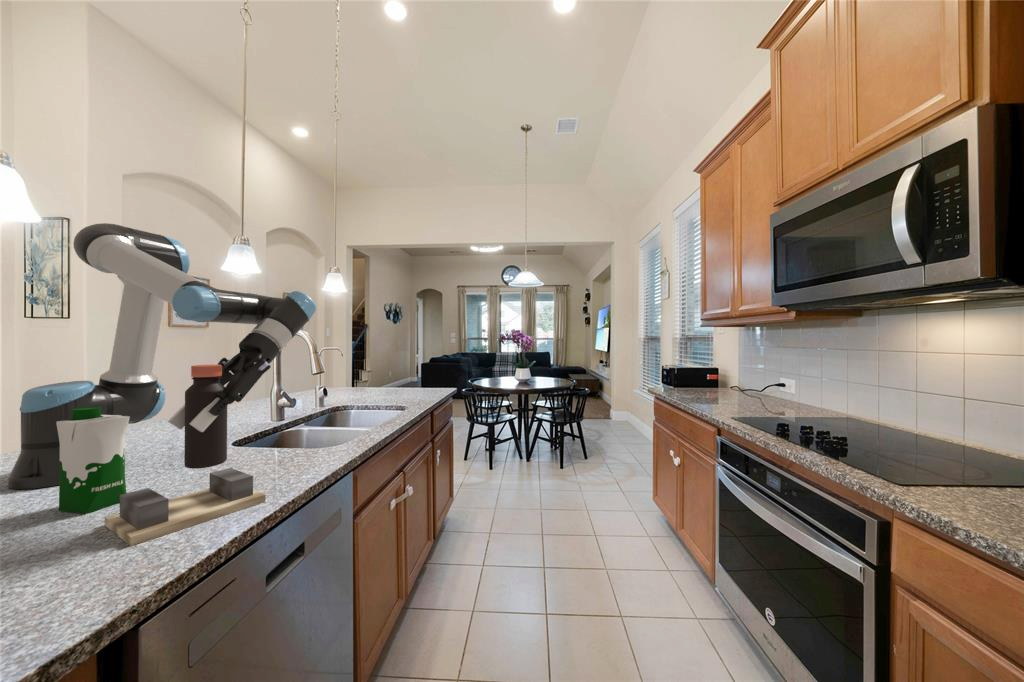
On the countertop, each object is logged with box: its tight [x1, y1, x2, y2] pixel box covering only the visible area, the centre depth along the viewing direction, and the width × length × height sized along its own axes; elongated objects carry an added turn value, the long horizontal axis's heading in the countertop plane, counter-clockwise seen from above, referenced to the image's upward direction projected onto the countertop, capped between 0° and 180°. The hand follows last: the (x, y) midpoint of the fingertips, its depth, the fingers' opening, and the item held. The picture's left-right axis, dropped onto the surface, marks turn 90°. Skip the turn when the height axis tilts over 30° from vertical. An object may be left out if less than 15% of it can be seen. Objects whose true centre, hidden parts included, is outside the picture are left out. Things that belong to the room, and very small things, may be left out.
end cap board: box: [104, 467, 267, 547], centre depth 77 cm, size 14×21×6 cm, turn 149°
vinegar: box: [183, 364, 228, 470], centre depth 78 cm, size 7×7×20 cm
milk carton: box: [56, 407, 130, 515], centre depth 80 cm, size 9×9×20 cm
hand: (185, 426), depth 75 cm, fingers closed on vinegar, 6 cm apart
